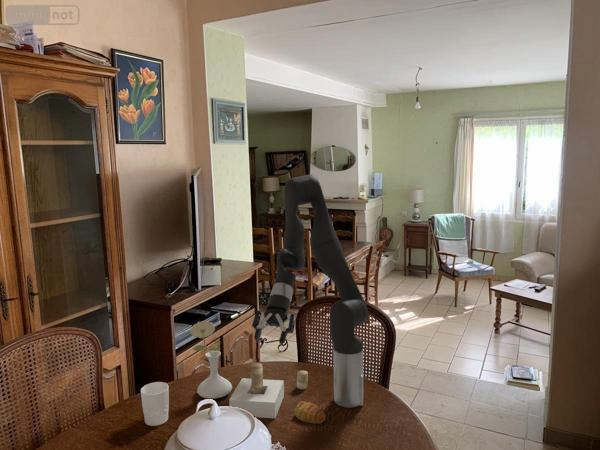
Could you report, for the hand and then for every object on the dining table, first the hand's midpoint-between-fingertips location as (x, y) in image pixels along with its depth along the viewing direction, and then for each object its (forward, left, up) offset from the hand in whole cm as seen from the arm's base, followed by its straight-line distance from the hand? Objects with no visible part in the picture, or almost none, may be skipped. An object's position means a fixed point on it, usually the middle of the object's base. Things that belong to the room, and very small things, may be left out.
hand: (268, 342), depth 150 cm
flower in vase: (+19, +4, -17) cm, 26 cm away
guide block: (+2, +10, -17) cm, 19 cm away
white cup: (+30, +22, -17) cm, 41 cm away
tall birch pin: (+2, +10, -17) cm, 19 cm away
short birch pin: (-10, -3, -17) cm, 20 cm away
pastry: (-15, +14, -17) cm, 27 cm away
